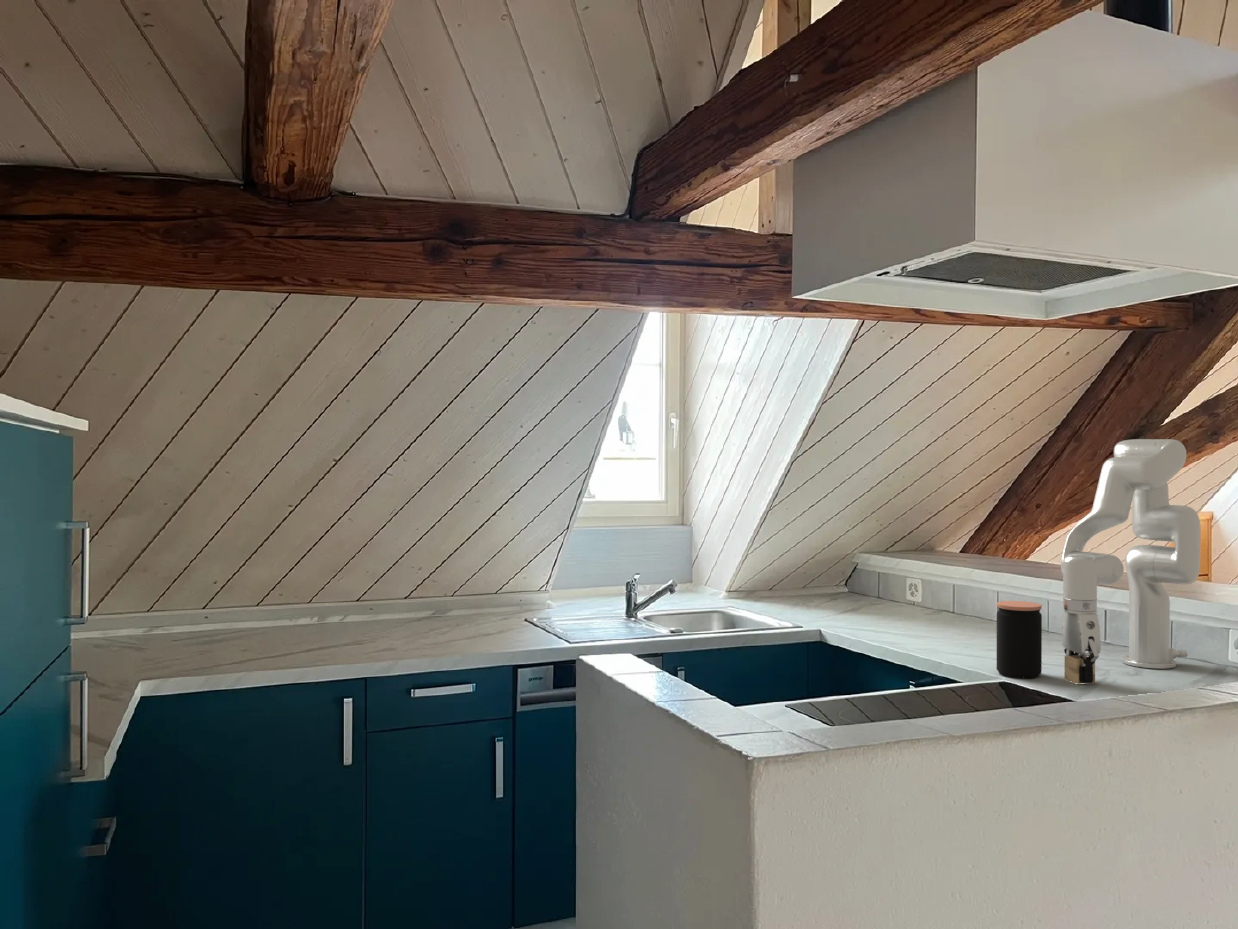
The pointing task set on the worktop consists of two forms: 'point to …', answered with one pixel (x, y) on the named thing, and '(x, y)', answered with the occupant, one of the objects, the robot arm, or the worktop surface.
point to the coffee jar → (1019, 639)
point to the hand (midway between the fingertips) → (1079, 679)
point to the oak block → (1074, 668)
